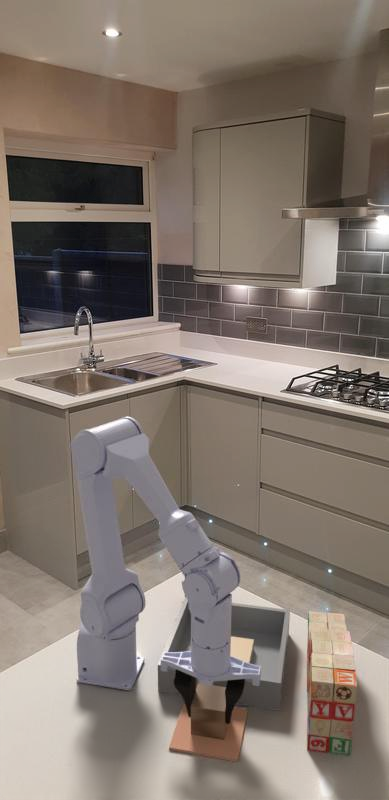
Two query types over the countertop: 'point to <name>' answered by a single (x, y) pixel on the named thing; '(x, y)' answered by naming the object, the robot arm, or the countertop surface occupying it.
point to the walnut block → (209, 712)
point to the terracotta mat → (210, 746)
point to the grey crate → (242, 650)
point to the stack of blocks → (330, 684)
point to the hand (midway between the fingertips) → (209, 715)
